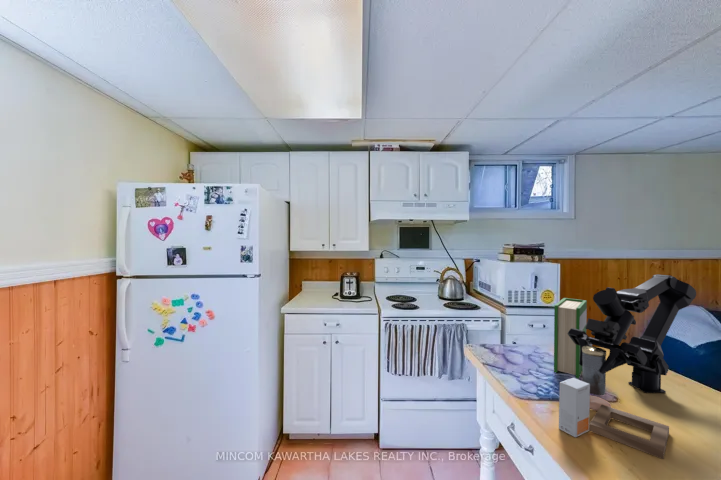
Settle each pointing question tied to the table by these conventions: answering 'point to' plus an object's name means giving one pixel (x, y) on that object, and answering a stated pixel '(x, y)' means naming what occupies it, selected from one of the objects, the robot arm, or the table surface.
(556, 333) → the hardback book
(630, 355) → the robot arm
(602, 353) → the tea tin
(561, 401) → the skincare box
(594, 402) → the coaster
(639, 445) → the pocket frame
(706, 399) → the table surface
